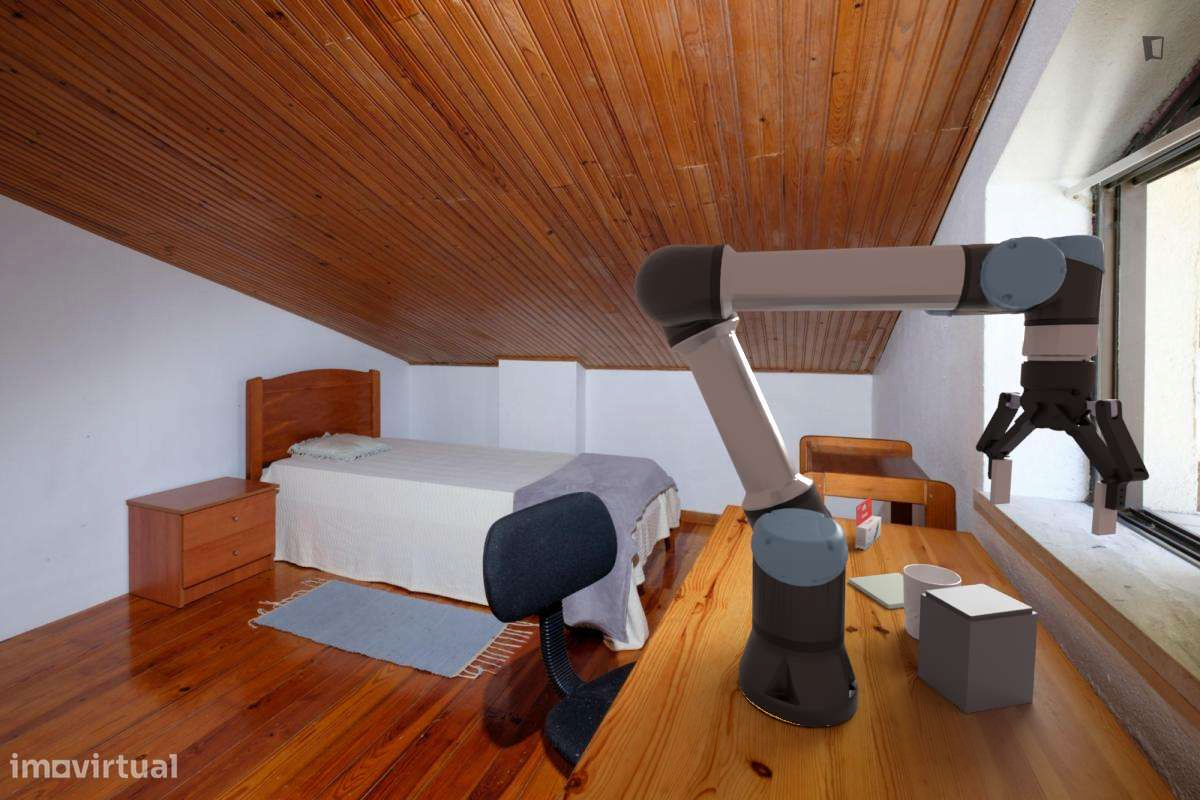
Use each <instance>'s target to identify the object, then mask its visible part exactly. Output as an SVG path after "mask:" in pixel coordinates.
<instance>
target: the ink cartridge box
mask: <svg viewBox="0 0 1200 800" xmlns="http://www.w3.org/2000/svg"><path fill="white" fill-rule="evenodd" d="M872 504H873V502H872V496H869V497H868V498H867V499H865V500H864V501H862V502H861V503H859V504H858V505H857V506H855V511H856V512H855V513H856V514H855V516H856V519H855V522H856V523H855V524H856V525H855V526H856V528H855V544H854V547H855V549H857V548H860V549H859V550H861V549H864V550H863V551H867V550H868V549H869V548H870V547H871V546H872V545H873V544H874V543H873V542H874V541H875V540H876V539H877V538H878V537H879V536H880V537H881V534H882V533H881V530H882V517H881V516H875V515H873V509H872V508H873V505H872ZM864 505H865V508H864ZM863 508H864V509H863ZM872 543H873V544H872ZM871 544H872V545H871ZM870 545H871V546H870ZM869 546H870V547H869ZM868 547H869V548H868ZM867 548H868V549H867ZM866 549H867V550H866Z"/></svg>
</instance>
